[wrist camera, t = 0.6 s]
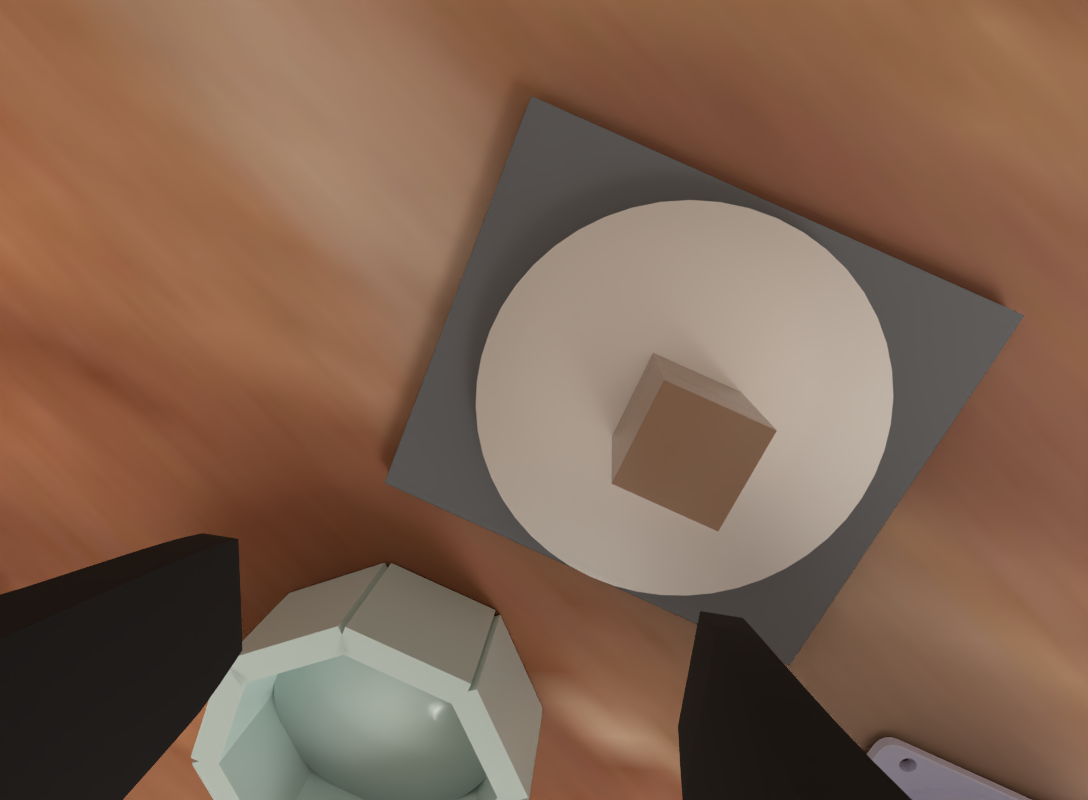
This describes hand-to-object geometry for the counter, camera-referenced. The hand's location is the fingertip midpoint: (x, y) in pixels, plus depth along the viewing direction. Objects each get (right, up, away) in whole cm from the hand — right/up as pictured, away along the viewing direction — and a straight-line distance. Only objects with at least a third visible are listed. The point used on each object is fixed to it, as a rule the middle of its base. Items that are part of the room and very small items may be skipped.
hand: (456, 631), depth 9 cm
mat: (+5, +3, +8) cm, 10 cm away
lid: (+5, +3, +8) cm, 10 cm away
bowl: (-4, -7, +12) cm, 15 cm away
